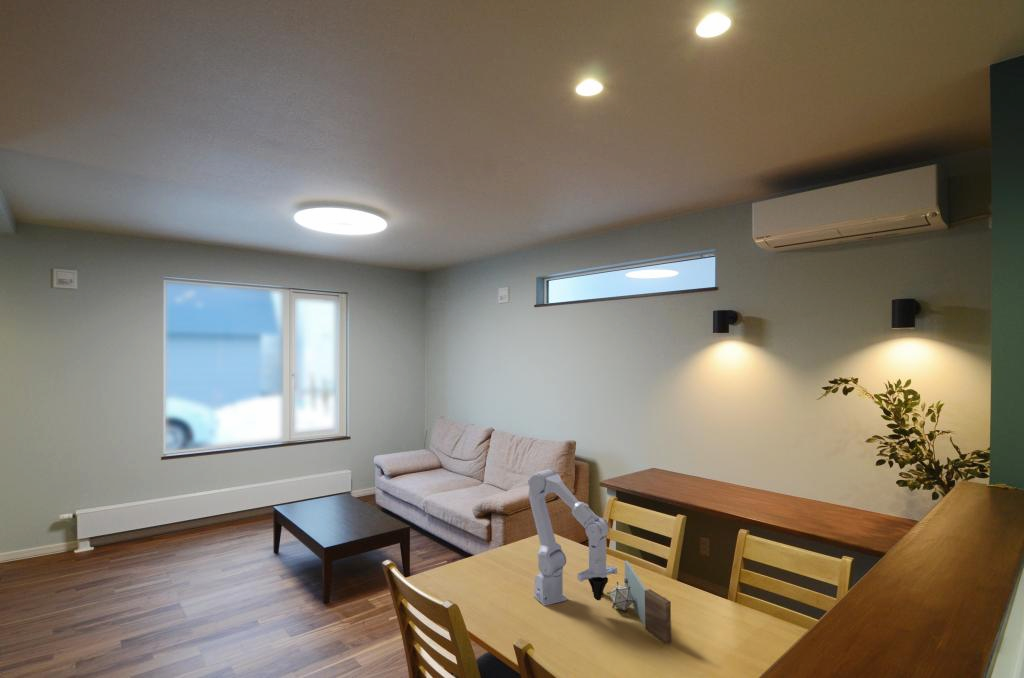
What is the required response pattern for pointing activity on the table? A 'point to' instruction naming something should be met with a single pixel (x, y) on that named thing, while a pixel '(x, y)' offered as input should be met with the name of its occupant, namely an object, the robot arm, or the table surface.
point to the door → (635, 590)
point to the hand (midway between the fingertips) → (597, 598)
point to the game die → (621, 597)
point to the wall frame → (657, 616)
